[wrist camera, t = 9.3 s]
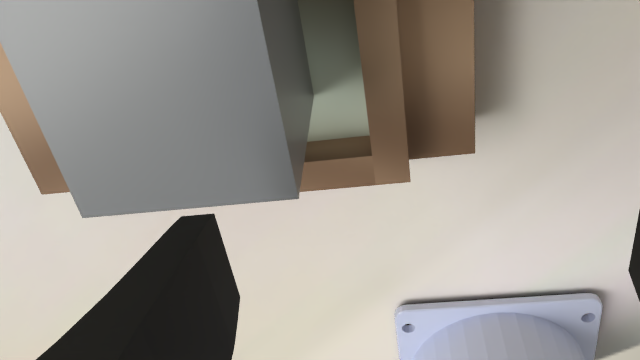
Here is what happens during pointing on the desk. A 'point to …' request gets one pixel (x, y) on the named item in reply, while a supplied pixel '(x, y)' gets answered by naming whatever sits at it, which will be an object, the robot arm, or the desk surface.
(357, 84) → the stand
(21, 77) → the housing
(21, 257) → the desk surface
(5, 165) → the desk surface
